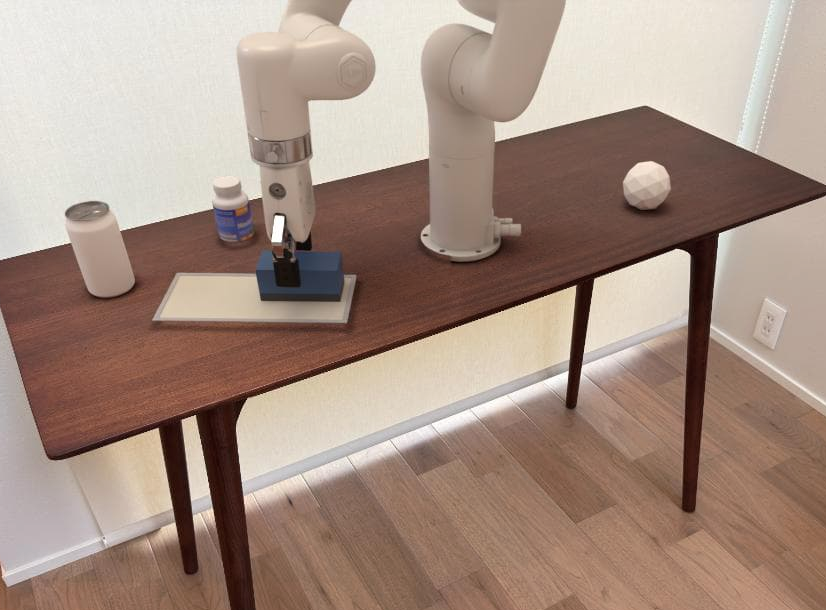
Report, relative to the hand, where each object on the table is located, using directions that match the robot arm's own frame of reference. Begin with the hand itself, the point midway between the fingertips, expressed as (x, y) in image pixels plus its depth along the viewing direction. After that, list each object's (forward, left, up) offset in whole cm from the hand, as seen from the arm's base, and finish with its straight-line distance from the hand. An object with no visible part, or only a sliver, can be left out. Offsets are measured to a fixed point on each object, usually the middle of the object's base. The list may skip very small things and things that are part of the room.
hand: (295, 267), depth 107 cm
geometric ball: (-54, -30, -6) cm, 62 cm away
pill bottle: (+12, -17, -6) cm, 22 cm away
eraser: (-1, 0, -4) cm, 4 cm away
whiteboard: (+5, +1, -5) cm, 8 cm away
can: (+27, -3, -6) cm, 28 cm away
